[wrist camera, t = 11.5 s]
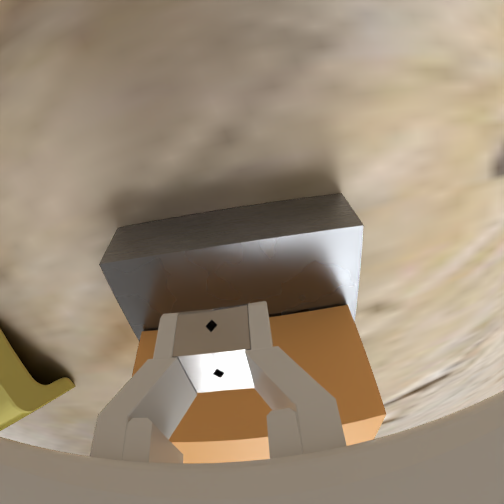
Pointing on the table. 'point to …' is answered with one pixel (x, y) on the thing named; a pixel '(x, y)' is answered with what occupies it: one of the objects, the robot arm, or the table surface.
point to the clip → (256, 409)
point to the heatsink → (238, 260)
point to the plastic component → (22, 387)
